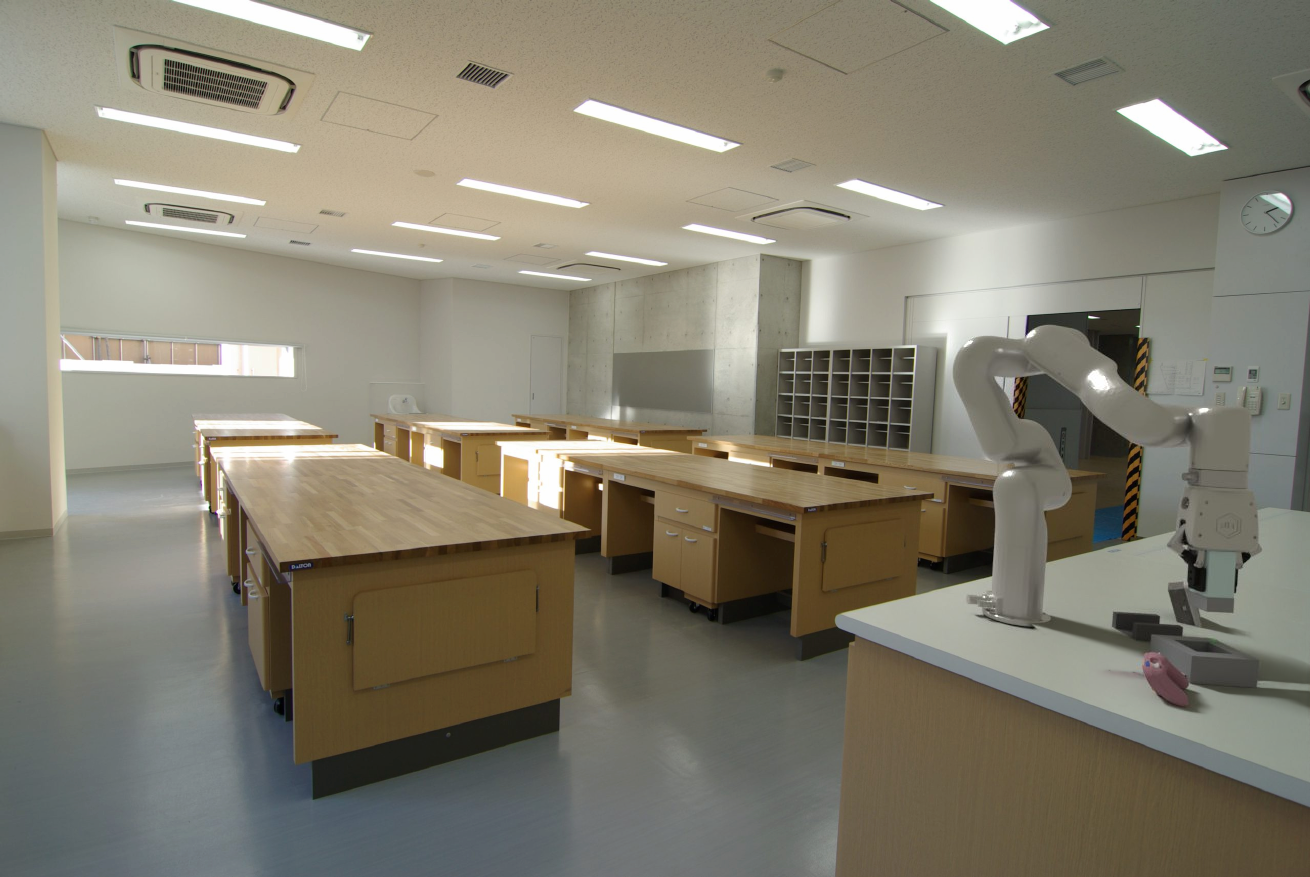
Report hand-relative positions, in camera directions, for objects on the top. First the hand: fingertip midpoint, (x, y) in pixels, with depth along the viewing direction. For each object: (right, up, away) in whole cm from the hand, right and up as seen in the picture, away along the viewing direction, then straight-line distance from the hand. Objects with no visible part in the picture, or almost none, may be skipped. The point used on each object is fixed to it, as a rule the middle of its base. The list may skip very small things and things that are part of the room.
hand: (1211, 589), depth 110 cm
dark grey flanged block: (+2, -13, +17) cm, 22 cm away
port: (-1, -14, +1) cm, 14 cm away
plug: (0, -3, 0) cm, 3 cm away
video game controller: (-14, -15, -7) cm, 21 cm away
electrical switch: (+18, -14, +28) cm, 36 cm away
